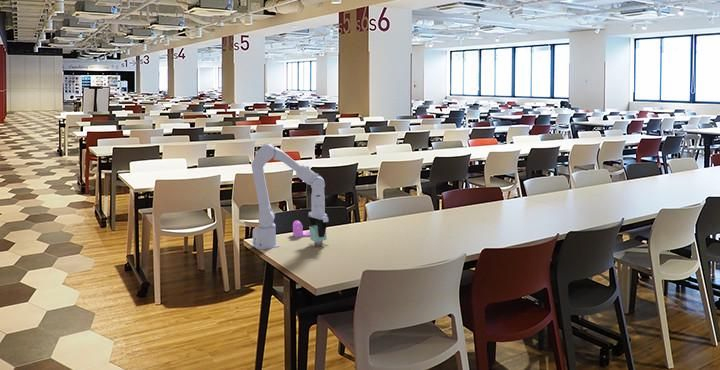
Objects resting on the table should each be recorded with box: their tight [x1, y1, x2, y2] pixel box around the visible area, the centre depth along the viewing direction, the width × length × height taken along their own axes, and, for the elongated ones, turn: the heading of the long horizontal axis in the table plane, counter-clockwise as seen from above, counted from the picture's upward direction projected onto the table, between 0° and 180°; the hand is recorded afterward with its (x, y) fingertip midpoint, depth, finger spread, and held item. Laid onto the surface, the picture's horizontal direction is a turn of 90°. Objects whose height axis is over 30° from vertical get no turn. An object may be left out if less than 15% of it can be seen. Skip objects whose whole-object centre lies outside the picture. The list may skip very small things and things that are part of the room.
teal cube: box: [308, 225, 327, 242], centre depth 272 cm, size 5×5×6 cm
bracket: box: [292, 220, 310, 238], centre depth 291 cm, size 13×6×7 cm, turn 104°
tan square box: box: [308, 240, 329, 248], centre depth 273 cm, size 6×6×4 cm
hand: (318, 235), depth 272 cm, fingers closed on teal cube, 5 cm apart
